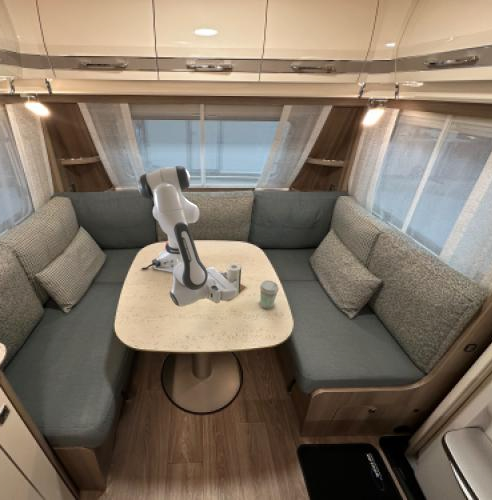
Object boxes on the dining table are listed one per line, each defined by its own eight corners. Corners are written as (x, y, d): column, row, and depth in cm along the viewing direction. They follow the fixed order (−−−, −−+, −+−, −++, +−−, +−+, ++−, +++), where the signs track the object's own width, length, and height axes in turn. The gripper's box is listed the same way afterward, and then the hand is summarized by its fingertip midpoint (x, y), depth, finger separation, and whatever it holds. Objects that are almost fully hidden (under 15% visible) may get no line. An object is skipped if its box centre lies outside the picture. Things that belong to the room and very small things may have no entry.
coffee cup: (264, 313, 125) (267, 293, 119) (254, 301, 132) (256, 282, 126) (279, 307, 128) (282, 288, 122) (269, 297, 135) (271, 278, 129)
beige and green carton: (225, 294, 124) (226, 269, 116) (227, 286, 129) (227, 262, 122) (239, 296, 123) (241, 271, 116) (240, 288, 128) (241, 263, 121)
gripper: (195, 280, 125) (220, 271, 131) (219, 306, 109) (246, 295, 115) (195, 269, 121) (220, 260, 127) (219, 294, 106) (247, 283, 112)
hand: (232, 277), depth 121 cm, fingers closed on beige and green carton, 6 cm apart
